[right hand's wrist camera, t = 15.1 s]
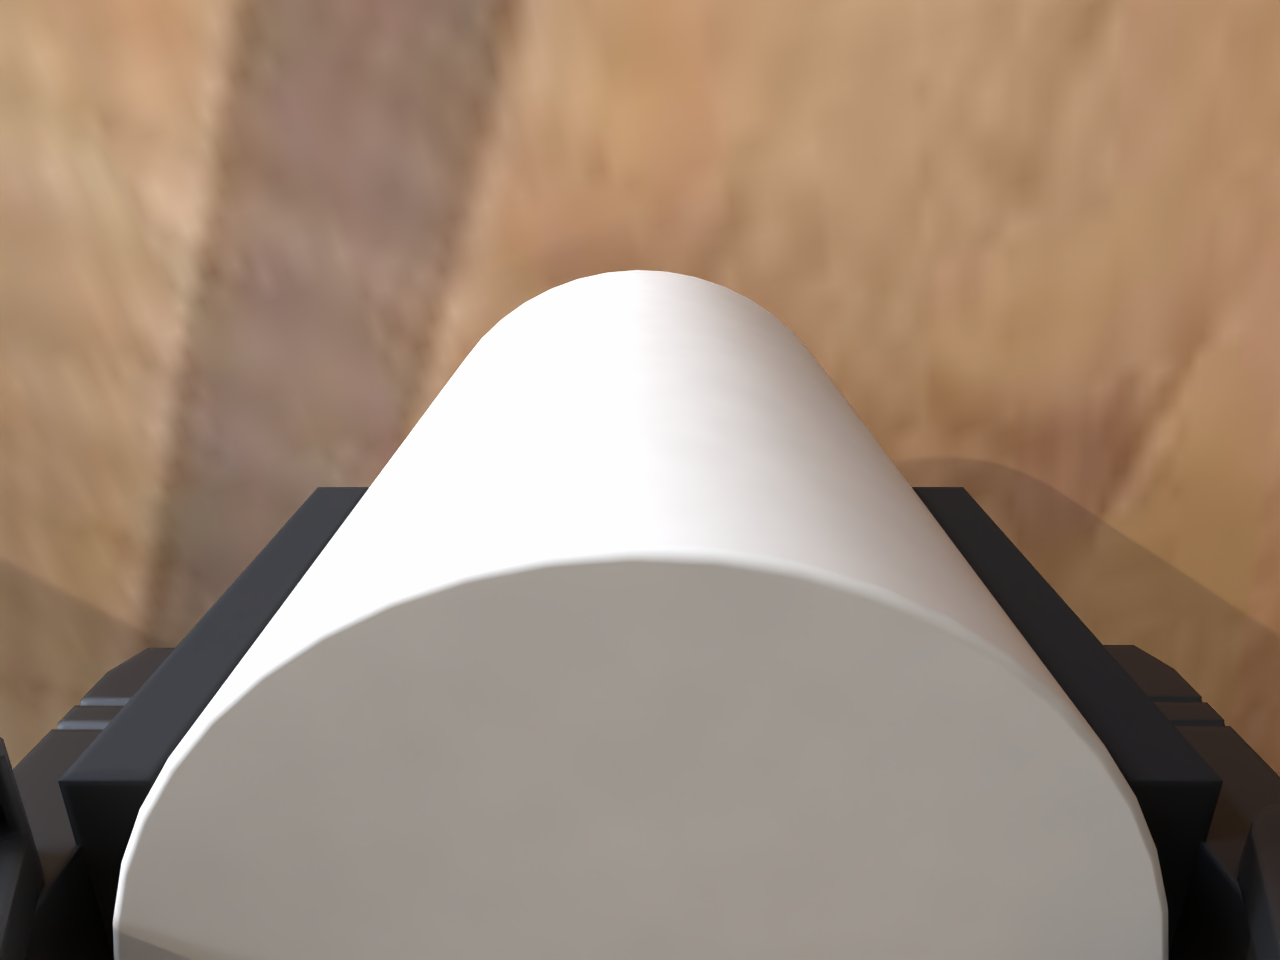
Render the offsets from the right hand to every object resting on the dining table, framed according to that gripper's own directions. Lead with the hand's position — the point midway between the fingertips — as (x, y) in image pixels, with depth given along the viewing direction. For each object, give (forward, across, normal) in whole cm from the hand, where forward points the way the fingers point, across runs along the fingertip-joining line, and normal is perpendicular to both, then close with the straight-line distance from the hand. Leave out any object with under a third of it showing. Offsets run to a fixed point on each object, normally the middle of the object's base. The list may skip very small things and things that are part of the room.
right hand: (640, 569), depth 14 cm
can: (+4, 0, 0) cm, 4 cm away
